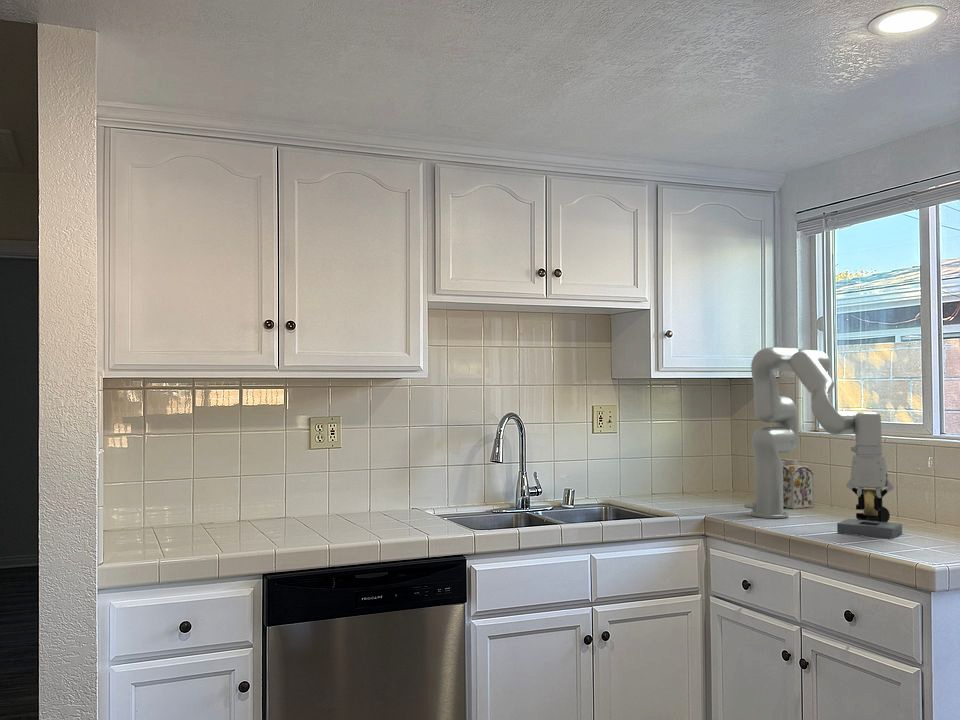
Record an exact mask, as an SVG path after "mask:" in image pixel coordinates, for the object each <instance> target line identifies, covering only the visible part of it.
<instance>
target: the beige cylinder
mask: <svg viewBox="0 0 960 720" xmlns="http://www.w3.org/2000/svg"><path fill="white" fill-rule="evenodd" d="M876 498H877V493H876V489H875V488H864V489H863V510H862V511H863V513H864V515H867V516H877V515H878V511H877V510H876Z"/></svg>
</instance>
